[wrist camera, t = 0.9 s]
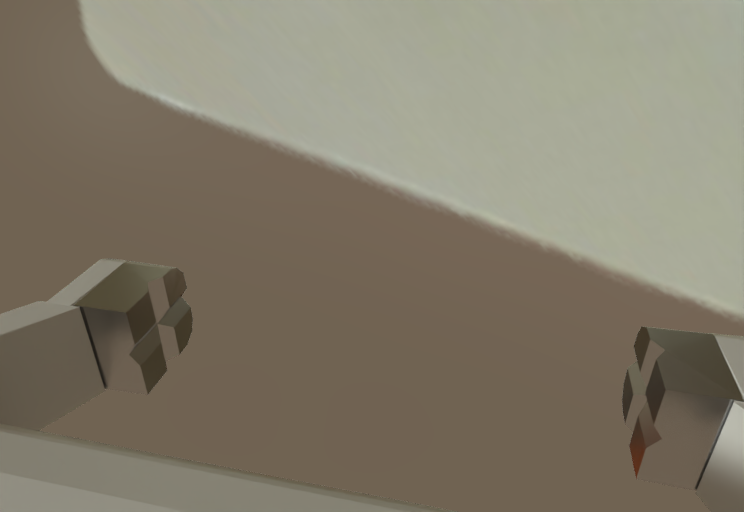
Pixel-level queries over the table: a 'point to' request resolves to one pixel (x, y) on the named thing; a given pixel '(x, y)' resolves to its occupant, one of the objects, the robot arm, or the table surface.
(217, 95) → the table surface
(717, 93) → the table surface
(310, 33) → the table surface
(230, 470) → the robot arm
